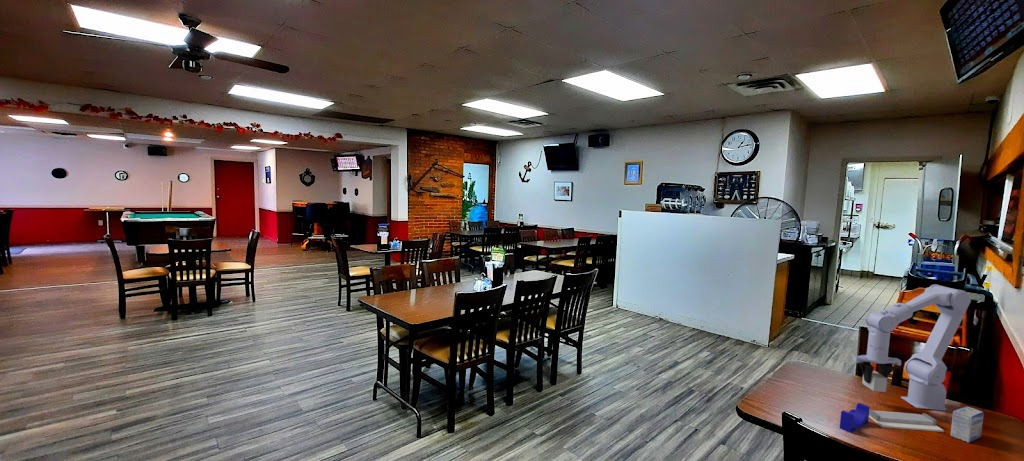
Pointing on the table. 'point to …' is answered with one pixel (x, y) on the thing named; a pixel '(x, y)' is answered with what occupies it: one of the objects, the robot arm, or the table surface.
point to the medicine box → (967, 424)
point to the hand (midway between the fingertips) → (874, 382)
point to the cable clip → (854, 418)
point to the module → (876, 382)
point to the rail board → (904, 420)
